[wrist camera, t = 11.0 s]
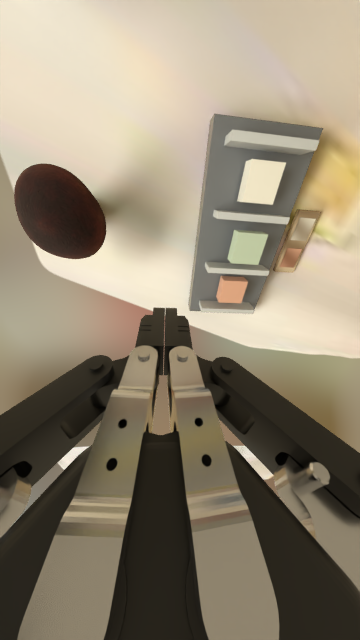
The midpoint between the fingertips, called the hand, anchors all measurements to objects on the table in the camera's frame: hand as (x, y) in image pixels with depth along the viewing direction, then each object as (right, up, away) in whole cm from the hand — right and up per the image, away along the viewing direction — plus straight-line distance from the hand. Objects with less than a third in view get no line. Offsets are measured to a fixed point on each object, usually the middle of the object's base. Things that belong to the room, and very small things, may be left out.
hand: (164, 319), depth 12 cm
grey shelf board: (+12, +17, +25) cm, 32 cm away
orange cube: (+12, +8, +29) cm, 32 cm away
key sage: (+13, +15, +22) cm, 29 cm away
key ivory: (+13, +23, +18) cm, 32 cm away
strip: (+25, +16, +26) cm, 40 cm away
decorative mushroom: (-15, +20, +21) cm, 33 cm away
